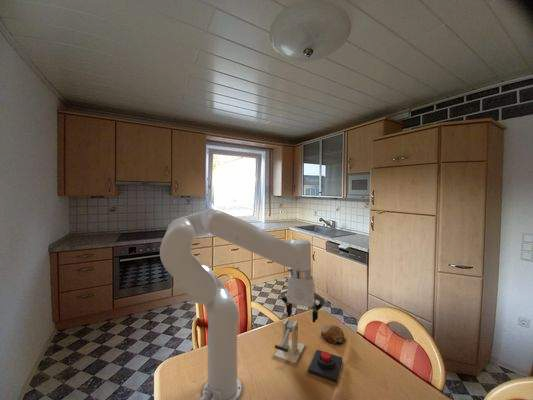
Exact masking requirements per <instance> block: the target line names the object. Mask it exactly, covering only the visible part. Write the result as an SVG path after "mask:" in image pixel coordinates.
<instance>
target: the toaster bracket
mask: <svg viewBox="0 0 533 400" xmlns="http://www.w3.org/2000/svg"><path fill="white" fill-rule="evenodd" d="M289 321H290V319H289V318H288V317H287V318H285V320H284V321H283V322H282V340H283V339H284V336H285V334H286V331H287V327H286V326H287V324H288V322H289ZM293 322H294V324H293V325H292V332H291V339H290V335H289V336H288V338H287V341H286V343H285V346H284V348H287V349H288V352H285V351H282V350H279V349H276V350H277V351H276V352H275V353H274V355H273V356H274V357H275V358H278V359H281V360H284V361H287V362H289V363H293V364H296V363H297V361H298V360H299V358H300V356H301V354H302V352H303V351H304V348H305V347H306V344H305V343H301V342H299V321H298V320H295V321H293Z"/></svg>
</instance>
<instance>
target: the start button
mask: <svg viewBox="0 0 533 400" xmlns="http://www.w3.org/2000/svg"><path fill="white" fill-rule="evenodd" d="M330 354H331V353H330V352H329V351H323V352H322V353H321V360H322V361H323V362H326V363H327V362H330V361H331V355H330Z"/></svg>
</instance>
